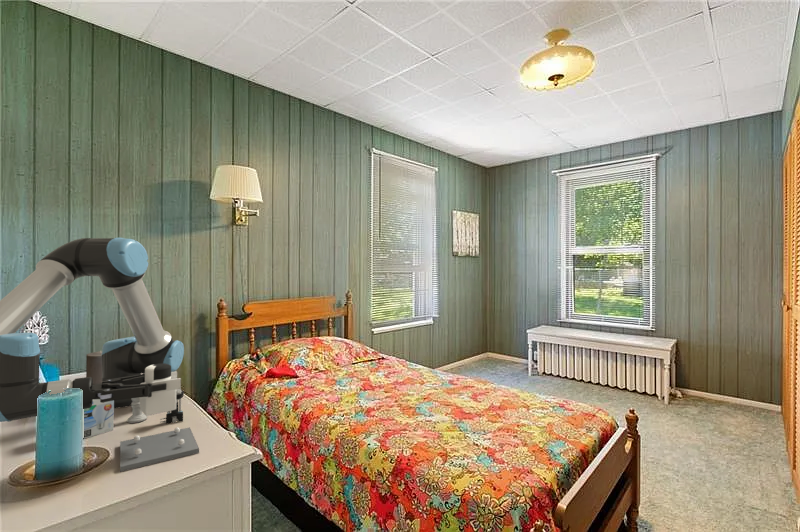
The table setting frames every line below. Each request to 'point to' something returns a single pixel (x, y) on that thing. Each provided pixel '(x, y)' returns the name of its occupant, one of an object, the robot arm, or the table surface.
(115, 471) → the table surface
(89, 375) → the pillar candle
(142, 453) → the pin tray
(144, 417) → the chess piece
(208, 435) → the table surface
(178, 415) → the push button
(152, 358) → the robot arm
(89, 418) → the light bulb box
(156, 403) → the medicine bottle
